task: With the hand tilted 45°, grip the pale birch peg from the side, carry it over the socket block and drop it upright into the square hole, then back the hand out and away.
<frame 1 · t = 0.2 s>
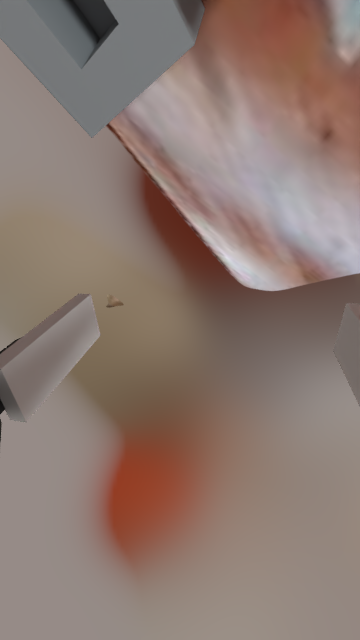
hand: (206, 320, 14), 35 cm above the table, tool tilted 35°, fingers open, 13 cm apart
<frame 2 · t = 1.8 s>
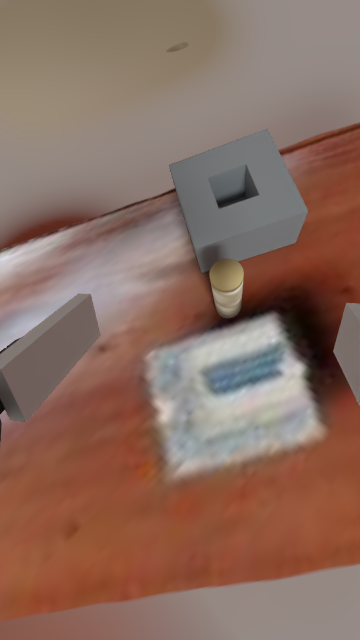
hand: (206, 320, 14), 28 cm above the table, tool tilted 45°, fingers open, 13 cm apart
socket block: (232, 219, 47), on the table
peg: (228, 306, 43), on the table
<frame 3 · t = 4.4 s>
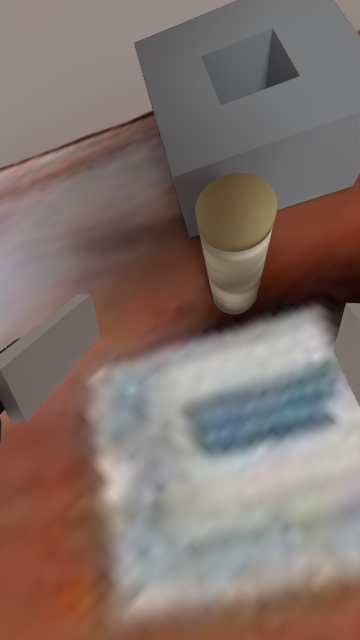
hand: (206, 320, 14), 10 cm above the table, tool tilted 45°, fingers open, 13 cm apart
socket block: (243, 152, 29), on the table
peg: (234, 293, 25), on the table
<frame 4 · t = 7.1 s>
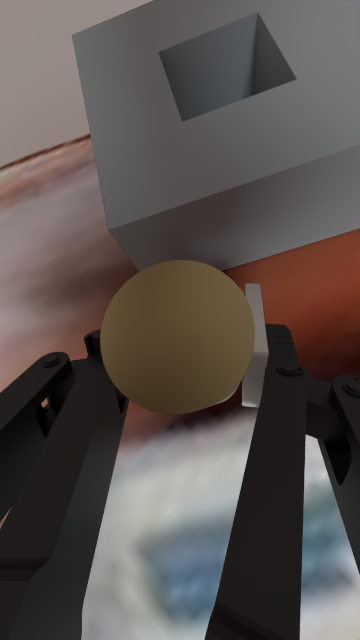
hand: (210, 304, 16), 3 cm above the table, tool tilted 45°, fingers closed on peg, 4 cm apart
socket block: (225, 177, 22), on the table
peg: (210, 373, 18), on the table, touching gripper
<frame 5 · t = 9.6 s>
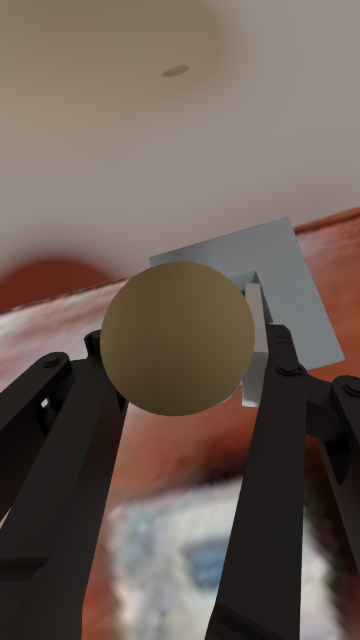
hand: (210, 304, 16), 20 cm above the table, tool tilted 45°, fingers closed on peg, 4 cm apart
socket block: (234, 322, 36), on the table
peg: (210, 373, 18), point 17 cm above the table, touching gripper
when the fingers open (12 cm above the table, at t = 12.3 s): peg drops 8 cm, resting on socket block.
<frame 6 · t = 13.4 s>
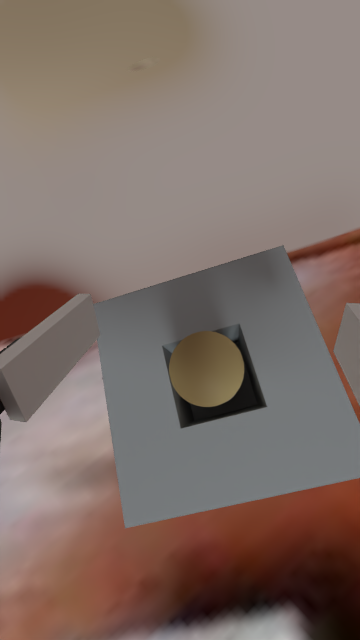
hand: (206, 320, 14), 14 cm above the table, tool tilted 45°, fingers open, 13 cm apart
socket block: (217, 381, 27), on the table
peg: (217, 381, 26), point 1 cm above the table, touching socket block
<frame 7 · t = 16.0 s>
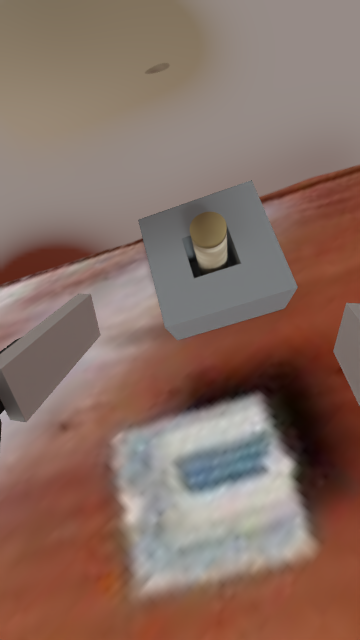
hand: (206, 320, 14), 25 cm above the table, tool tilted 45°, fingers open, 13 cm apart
socket block: (214, 276, 42), on the table
peg: (214, 274, 41), point 1 cm above the table, touching socket block
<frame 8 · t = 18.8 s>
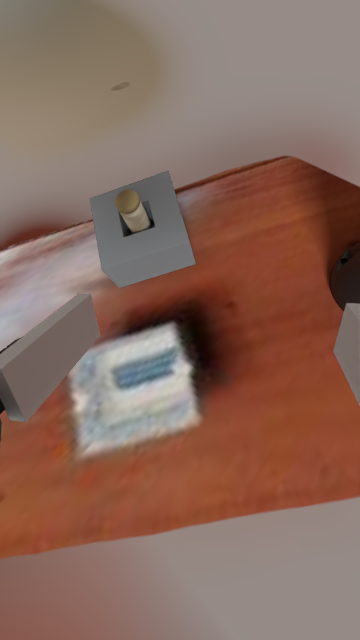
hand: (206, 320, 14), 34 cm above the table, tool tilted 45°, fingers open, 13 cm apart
socket block: (149, 242, 56), on the table
peg: (148, 240, 55), point 1 cm above the table, touching socket block
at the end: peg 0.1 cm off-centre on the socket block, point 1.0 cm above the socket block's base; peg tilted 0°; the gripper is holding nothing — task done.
